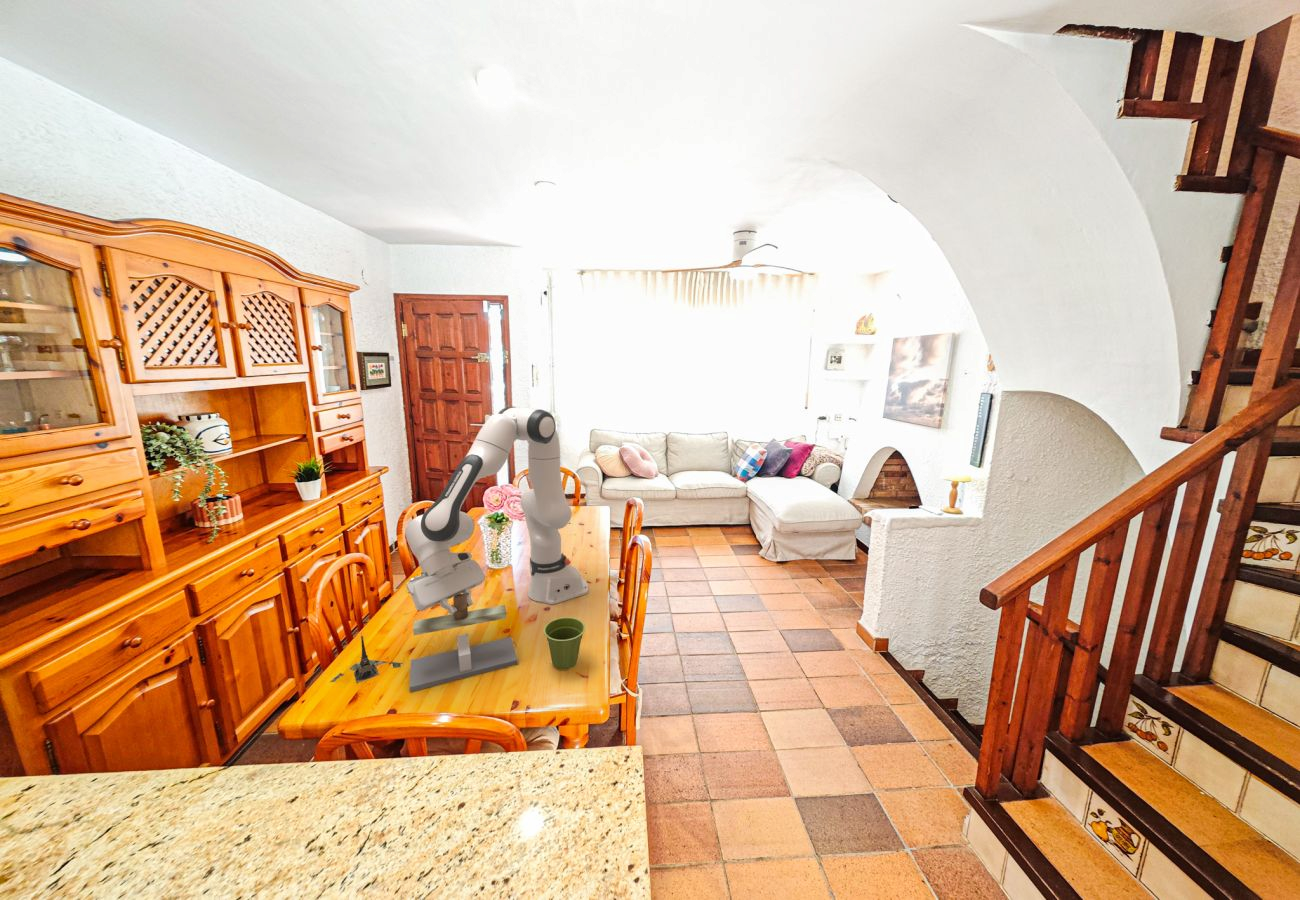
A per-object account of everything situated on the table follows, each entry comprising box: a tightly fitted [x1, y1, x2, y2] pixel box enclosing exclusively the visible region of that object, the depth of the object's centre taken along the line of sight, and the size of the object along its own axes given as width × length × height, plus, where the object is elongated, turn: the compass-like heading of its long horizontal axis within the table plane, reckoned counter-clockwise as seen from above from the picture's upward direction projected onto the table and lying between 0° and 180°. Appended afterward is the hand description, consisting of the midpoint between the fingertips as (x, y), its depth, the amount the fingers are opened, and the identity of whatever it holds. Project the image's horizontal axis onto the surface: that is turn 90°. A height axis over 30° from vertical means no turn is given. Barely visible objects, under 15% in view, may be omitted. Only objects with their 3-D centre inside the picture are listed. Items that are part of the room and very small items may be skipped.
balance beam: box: [412, 593, 508, 636], centre depth 129 cm, size 24×4×8 cm, turn 113°
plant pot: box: [543, 616, 586, 671], centre depth 134 cm, size 12×12×11 cm
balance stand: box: [408, 633, 519, 693], centre depth 132 cm, size 28×12×6 cm, turn 115°
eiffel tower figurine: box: [330, 632, 404, 684], centre depth 128 cm, size 15×10×13 cm
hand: (462, 609), depth 129 cm, fingers closed on balance beam, 3 cm apart
